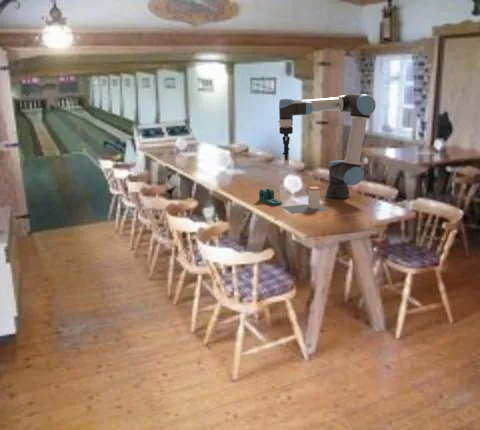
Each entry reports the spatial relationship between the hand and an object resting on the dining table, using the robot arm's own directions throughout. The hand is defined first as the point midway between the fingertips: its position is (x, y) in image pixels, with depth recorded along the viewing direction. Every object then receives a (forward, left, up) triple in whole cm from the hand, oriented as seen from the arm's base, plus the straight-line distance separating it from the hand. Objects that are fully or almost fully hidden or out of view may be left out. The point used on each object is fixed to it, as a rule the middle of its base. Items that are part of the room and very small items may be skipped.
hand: (286, 163), depth 303 cm
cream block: (-15, +8, -26) cm, 31 cm away
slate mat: (-9, +8, -26) cm, 29 cm away
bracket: (+4, -13, -27) cm, 30 cm away
